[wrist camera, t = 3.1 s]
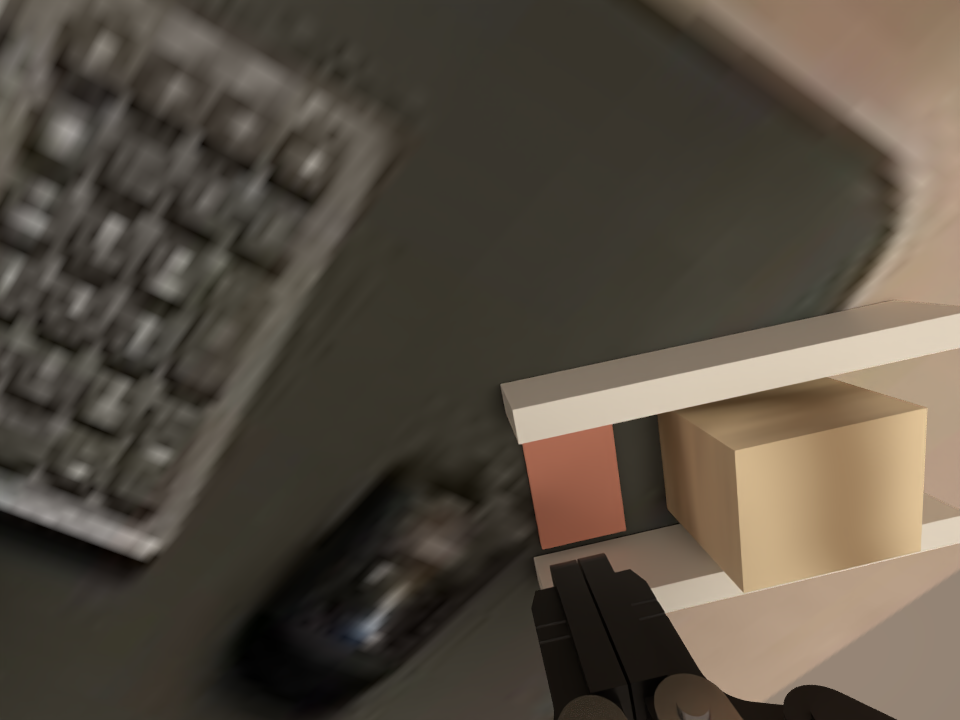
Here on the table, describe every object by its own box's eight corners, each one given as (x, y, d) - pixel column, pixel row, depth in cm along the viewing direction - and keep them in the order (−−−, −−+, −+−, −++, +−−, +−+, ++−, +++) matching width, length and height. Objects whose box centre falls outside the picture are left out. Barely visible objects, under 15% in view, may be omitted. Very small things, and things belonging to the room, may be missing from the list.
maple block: (666, 507, 19) (744, 593, 14) (654, 398, 18) (734, 450, 13) (799, 477, 19) (920, 551, 14) (796, 367, 18) (927, 407, 13)
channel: (538, 580, 19) (555, 639, 16) (500, 384, 17) (512, 410, 14) (888, 499, 20) (966, 541, 17) (893, 299, 18) (983, 308, 15)
